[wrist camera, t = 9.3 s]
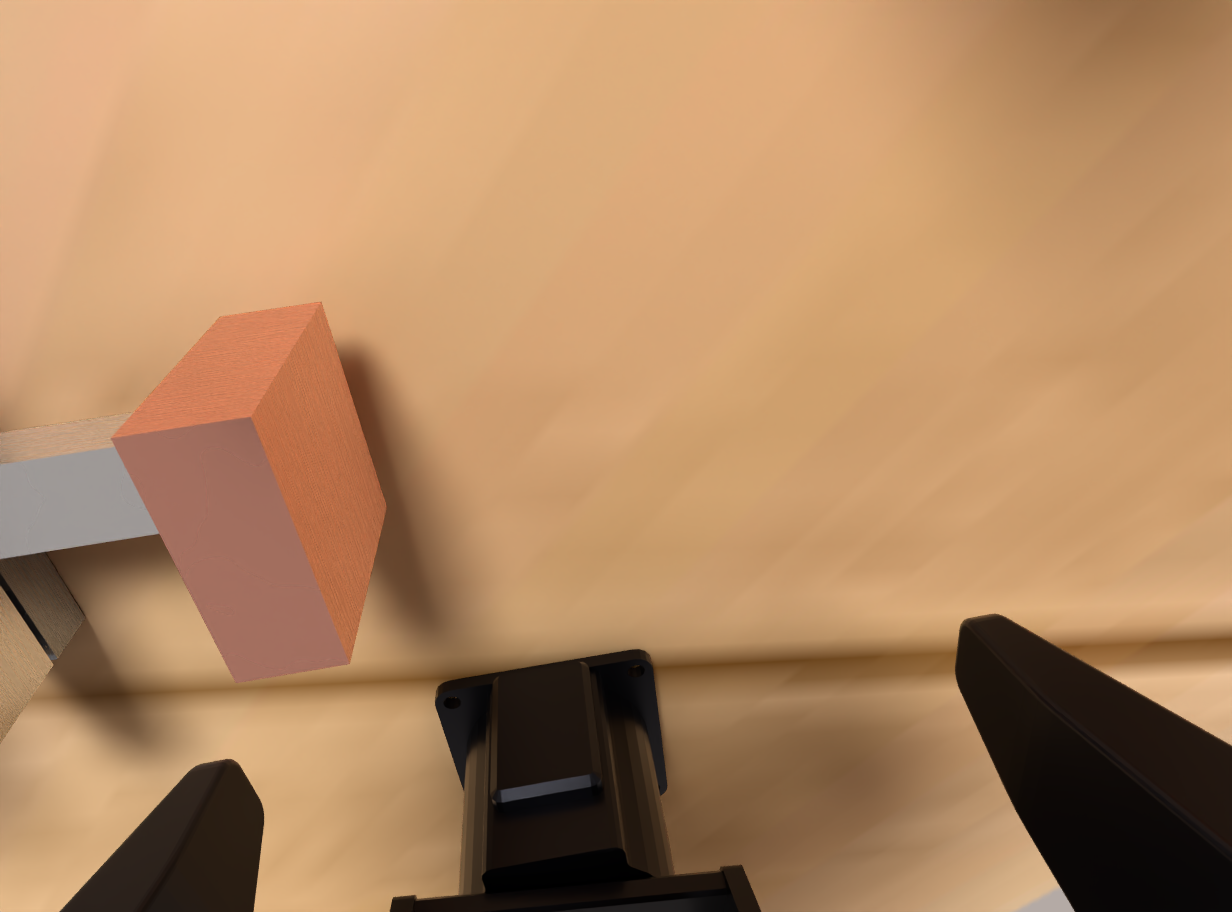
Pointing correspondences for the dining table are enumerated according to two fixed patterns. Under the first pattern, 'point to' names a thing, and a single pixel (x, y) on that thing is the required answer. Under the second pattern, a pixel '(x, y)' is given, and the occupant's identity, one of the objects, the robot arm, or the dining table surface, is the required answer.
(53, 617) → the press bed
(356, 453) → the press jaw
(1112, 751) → the robot arm
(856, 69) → the dining table surface
